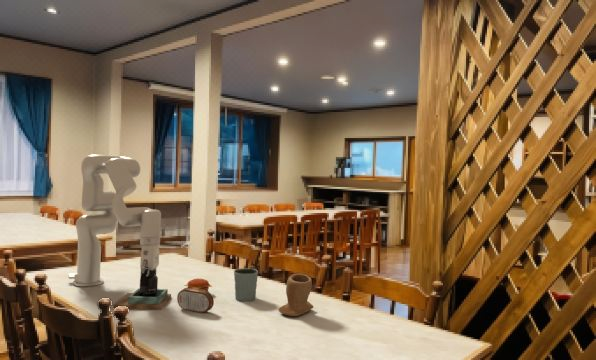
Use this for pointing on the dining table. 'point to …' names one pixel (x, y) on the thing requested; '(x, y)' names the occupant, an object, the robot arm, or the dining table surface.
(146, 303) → the socket board
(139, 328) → the dining table surface
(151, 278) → the supplement bottle
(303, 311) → the stone cup
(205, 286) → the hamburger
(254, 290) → the grey cup
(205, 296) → the tin
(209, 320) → the dining table surface
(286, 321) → the dining table surface
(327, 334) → the dining table surface
